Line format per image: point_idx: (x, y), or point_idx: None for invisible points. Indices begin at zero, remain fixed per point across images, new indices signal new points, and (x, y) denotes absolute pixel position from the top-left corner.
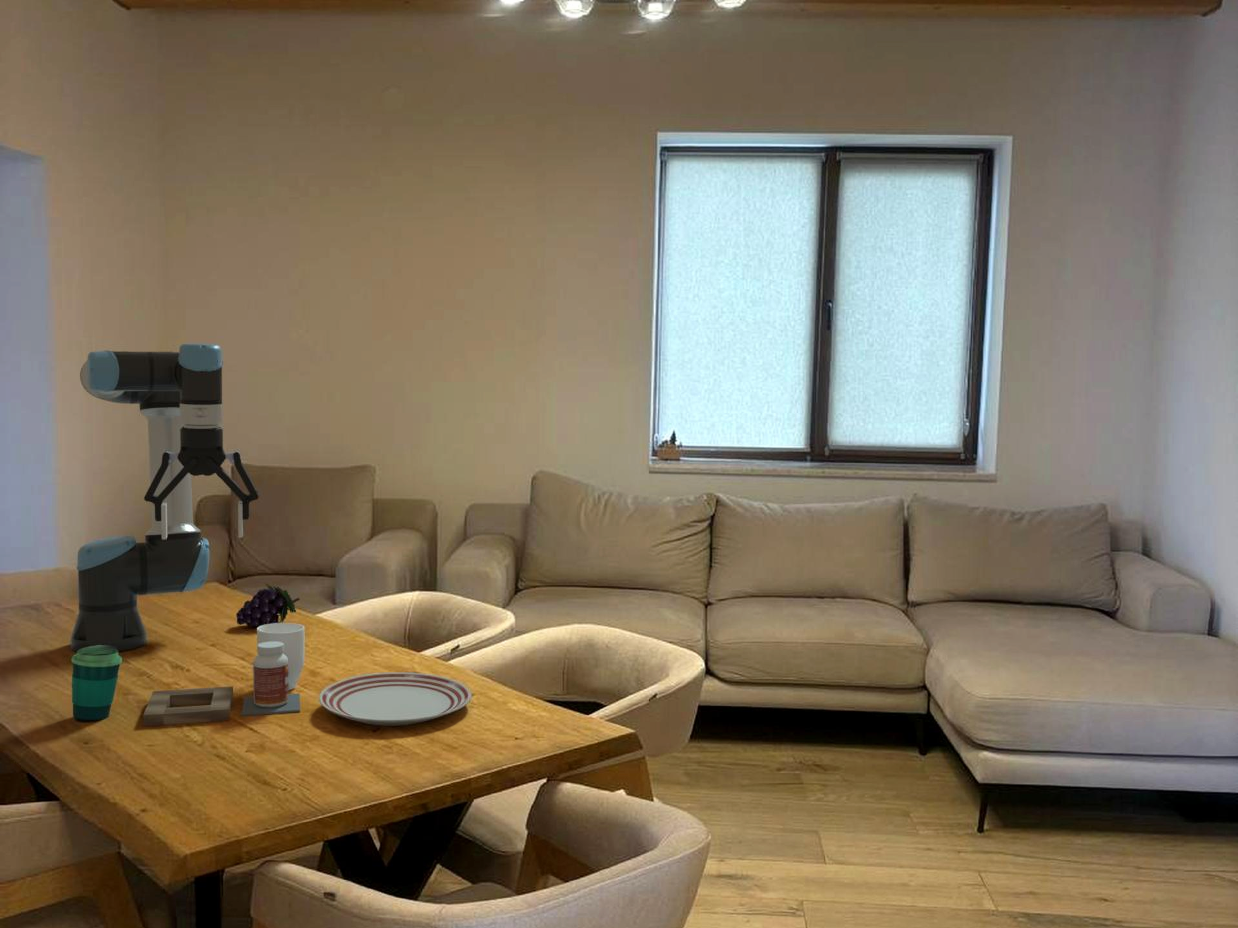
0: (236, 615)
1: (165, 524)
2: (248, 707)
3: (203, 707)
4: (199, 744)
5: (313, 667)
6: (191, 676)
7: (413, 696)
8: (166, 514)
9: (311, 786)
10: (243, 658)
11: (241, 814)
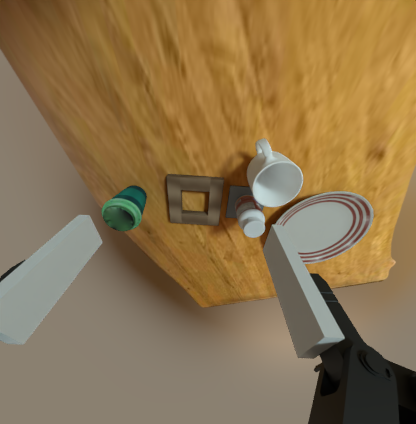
0: None
1: (77, 274)
2: (230, 207)
3: (203, 218)
4: (203, 247)
5: (308, 102)
6: (188, 101)
7: (333, 218)
8: (41, 282)
9: (242, 287)
10: (246, 20)
11: (218, 296)
